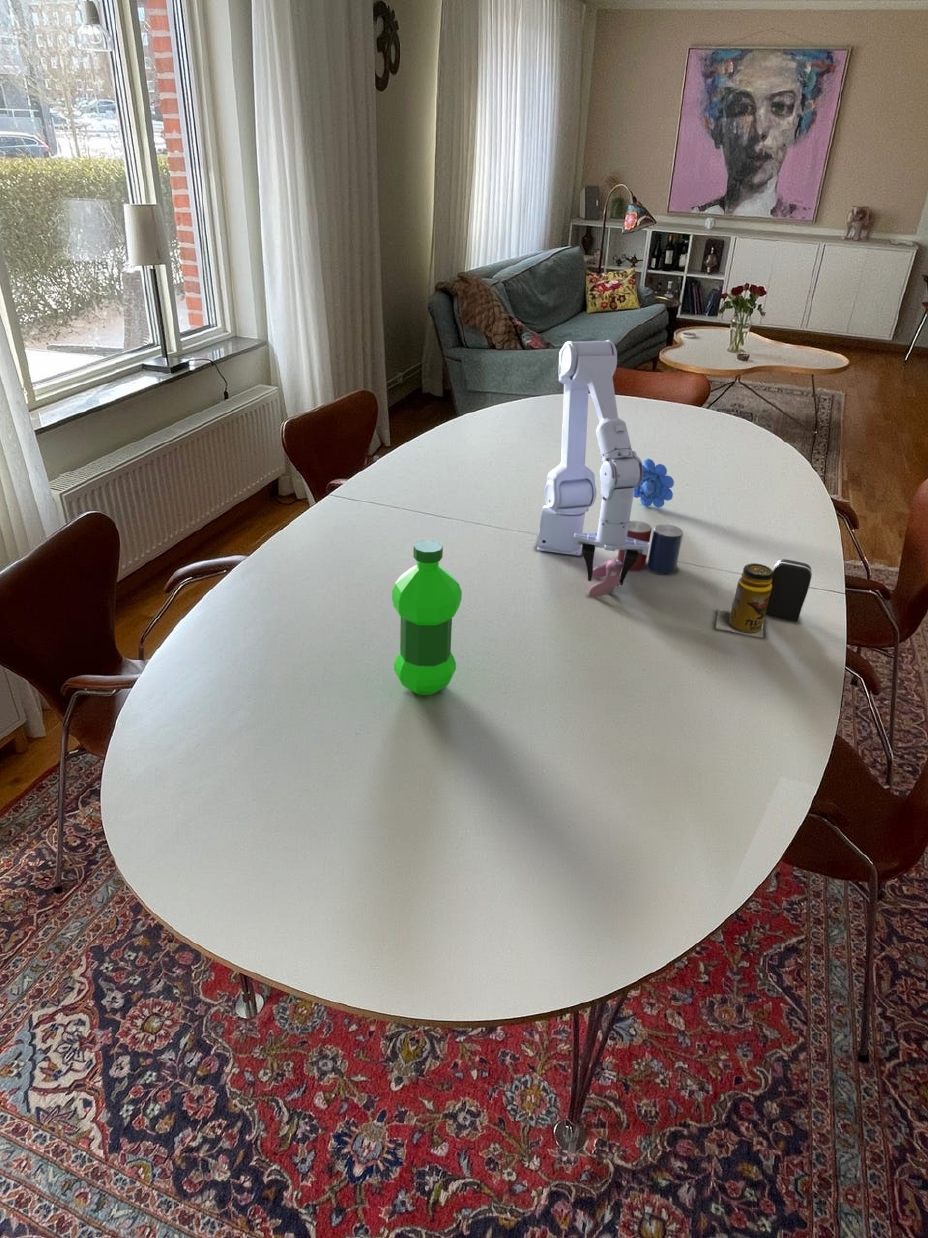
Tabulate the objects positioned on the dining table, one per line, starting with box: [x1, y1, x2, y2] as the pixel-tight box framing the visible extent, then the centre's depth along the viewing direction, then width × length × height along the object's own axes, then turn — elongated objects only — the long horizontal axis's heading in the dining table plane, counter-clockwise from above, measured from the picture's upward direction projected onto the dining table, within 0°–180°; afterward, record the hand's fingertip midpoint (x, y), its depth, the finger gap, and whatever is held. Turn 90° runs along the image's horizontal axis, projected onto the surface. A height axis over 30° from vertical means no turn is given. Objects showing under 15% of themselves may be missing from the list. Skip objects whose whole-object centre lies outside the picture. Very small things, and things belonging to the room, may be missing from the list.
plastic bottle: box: [391, 539, 463, 696], centre depth 129 cm, size 10×10×25 cm
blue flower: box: [633, 458, 675, 509], centre depth 202 cm, size 12×7×12 cm, turn 68°
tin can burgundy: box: [616, 520, 652, 571], centre depth 175 cm, size 6×6×9 cm
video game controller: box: [588, 557, 622, 598], centre depth 166 cm, size 10×5×7 cm, turn 168°
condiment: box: [715, 562, 773, 638], centre depth 154 cm, size 7×8×12 cm
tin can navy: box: [646, 524, 684, 575], centre depth 174 cm, size 6×6×9 cm
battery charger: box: [765, 558, 813, 623], centre depth 158 cm, size 7×4×11 cm, turn 68°
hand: (605, 581), depth 166 cm, fingers closed on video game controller, 5 cm apart
